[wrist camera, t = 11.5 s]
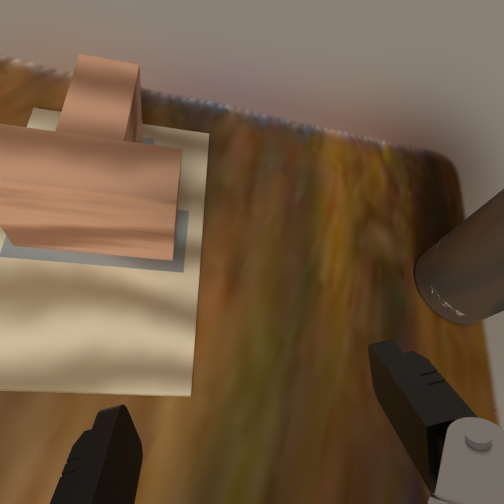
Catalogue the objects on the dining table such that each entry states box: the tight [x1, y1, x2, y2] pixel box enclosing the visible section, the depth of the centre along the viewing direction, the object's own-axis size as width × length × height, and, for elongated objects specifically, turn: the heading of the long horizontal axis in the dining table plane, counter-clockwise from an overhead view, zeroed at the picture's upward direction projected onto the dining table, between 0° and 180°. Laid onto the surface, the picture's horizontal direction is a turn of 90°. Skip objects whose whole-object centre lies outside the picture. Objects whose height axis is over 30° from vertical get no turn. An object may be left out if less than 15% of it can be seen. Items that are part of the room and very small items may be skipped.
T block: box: [0, 54, 182, 261], centre depth 36 cm, size 14×14×10 cm
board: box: [0, 108, 209, 397], centre depth 39 cm, size 29×19×1 cm, turn 0°
